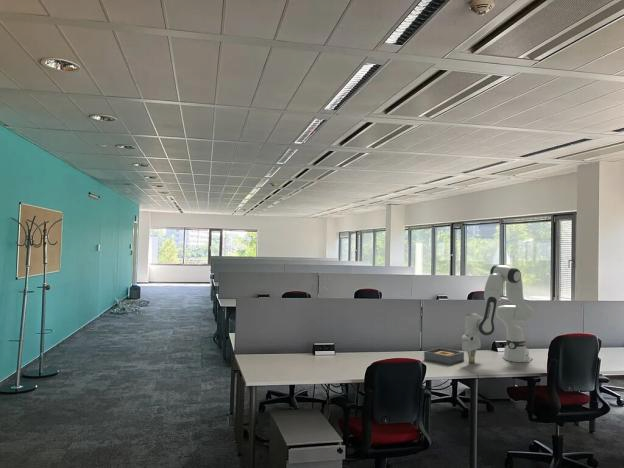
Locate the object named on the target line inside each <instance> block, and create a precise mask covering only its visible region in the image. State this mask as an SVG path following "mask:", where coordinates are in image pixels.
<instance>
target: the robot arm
mask: <svg viewBox="0 0 624 468" xmlns="http://www.w3.org/2000/svg"><path fill="white" fill-rule="evenodd" d="M504 283H505V297H506V299H507V301H509V302H511V303H512V304H514V305H507V304H505V305H499V306H498V303H499V300H500V299H501V294H502V291H503V285H504ZM484 286H485V287H484V290H483V291H484V292H483V299H484V302H485V310H484V314H483V316H481V315H479V314H478V313H476V312H472V313H468V314H466V315H465V317H464V327H465V330H464V334H463V335H462V336H461V349H462V352H464V353H465V352H466V353H467V354H468V355H467V357H468V358H469V357H471V355H472V354H471V351H472V350H475V354H476V352H477V350H479V349H481V348H482V347H481V346H482V345H481V339H480V336H479V333H480V334H481V335H483V336H490V335H493V333H494V332H495V324H494V323H495V322H494V317H495V315H496V317H497V319H499V320H500V321H501V322H502V323H503V325H504V326H505V329H506V341H505V343H506V346H504V353H503V356H502V359H504V360H506V361H509V362H514V363H530V362H531V360H533V357H532V356H530V351H529V349H528V348H527V347H526V342H527V341H526V340H524V337H525V336H524V330H523V328H522V327H521V326H519V325H517V324H515V322H524V323H525V322H532V321H533V320H534V319H535V316H536V315H535V310H534V309H533V308H532V307H531V306H530V305H528V304H527V303H526V300H525V298H524V292H523V290H524V289H523V288H524V287H523V279H522V272H521V270H520V269H518V268H517V267H512V266H509V265H502V264H495V265H492V267H491V268H490V270H489V275H488V278H487V280H486V282H485V285H484Z"/></svg>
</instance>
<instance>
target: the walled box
mask: <svg viewBox="0 0 624 468" xmlns="http://www.w3.org/2000/svg"><path fill="white" fill-rule="evenodd" d="M423 353H424V354H423V356H424V357H423V360H424V361H427V362H433V363H438V364H443V365H448V366H451V365H455V364H456V363H457V364H458V363H461V362H464V361H465V351H460V350H454V349H447V348H442V347H437V348H433V349H429V350H425V351H424V352H423Z"/></svg>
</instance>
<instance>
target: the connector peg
mask: <svg viewBox="0 0 624 468" xmlns="http://www.w3.org/2000/svg"><path fill="white" fill-rule="evenodd" d="M471 354H472V355H471V357H468V363H469V364H470V363H471V364H474V363H476V361H475V360H476V353H475V350H472V351H471Z"/></svg>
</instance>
